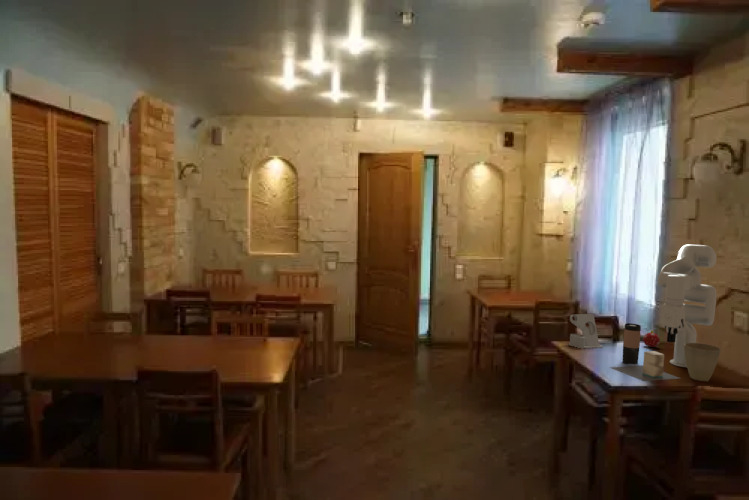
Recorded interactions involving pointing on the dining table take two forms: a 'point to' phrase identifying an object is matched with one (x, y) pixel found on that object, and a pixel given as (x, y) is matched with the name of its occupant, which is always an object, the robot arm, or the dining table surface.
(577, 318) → the phone holder
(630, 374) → the rubber mat
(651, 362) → the maple block
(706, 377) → the plant pot
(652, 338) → the christmas ornament
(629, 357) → the travel mug
